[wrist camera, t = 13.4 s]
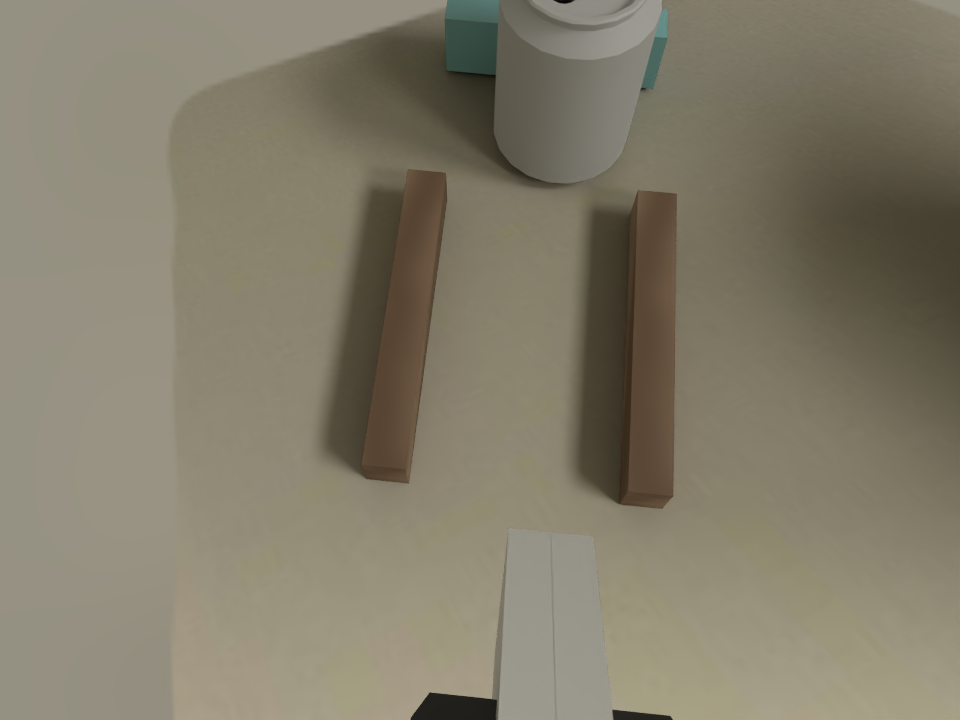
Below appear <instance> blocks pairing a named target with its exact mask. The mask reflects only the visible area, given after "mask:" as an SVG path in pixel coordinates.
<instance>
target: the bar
mask: <svg viewBox="0 0 960 720" xmlns="http://www.w3.org/2000/svg"><path fill="white" fill-rule="evenodd" d="M498 15H499V0H448V1H447V8H446V14H445V39H446V70H447V71H457V72H468V73H480V74H491V75H496V62H497V38H498ZM667 34H668V10H666V9H662V12H661V15H660V19H659V23H658V26H657V30H656V34H655V37H654V41H653V45H652V49H651V52H650V56H649V60H648V63H647V67H646V71H645V74H644V78H643V82H642V86H641V88H651V89H653V86H654V82H655V79H656V76H657V72H658V69H659V65H660V62H661V58H662V55H663V51H664V48H665V45H666V41H667Z"/></svg>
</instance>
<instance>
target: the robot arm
mask: <svg viewBox="0 0 960 720" xmlns="http://www.w3.org/2000/svg"><path fill="white" fill-rule="evenodd" d="M411 720H673V719H672V718H671V717H670V716H666V715H656V714H647V713H637V712H628V711H619V710H612V704H611V695H610V686H609V677H608V668H607V658H606V649H605V640H604V631H603V622H602V613H601V604H600V594H599V585H598V576H597V567H596V558H595V549H594V540H593V537H592V536H582V535H572V534H562V533H552V532H543V531H533V530H523V529H513V528H508V537H507V546H506V555H505V565H504V574H503V583H502V593H501V602H500V611H499V620H498V630H497V639H496V648H495V662H494V677H493V693H492V699H485V698H476V697H467V696H457V695H448V694H439V693H429V694H428V696H427V697H426V698H425V700H424V701H423V702H422V704H421V705H420V706H419V708H418V709H417V710H416V712H415V713H414V714H413V716H412V717H411Z"/></svg>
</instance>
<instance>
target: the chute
mask: <svg viewBox="0 0 960 720" xmlns="http://www.w3.org/2000/svg"><path fill="white" fill-rule="evenodd" d="M446 203H447V185H446V173H442V172H431V171H420V170H409V169H408V172H407V178H406V184H405V191H404V197H403V203H402V210H401V216H400V222H399V229H398V235H397V241H396V248H395V254H394V260H393V267H392V273H391V279H390V286H389V292H388V298H387V305H386V311H385V317H384V323H383V330H382V336H381V342H380V349H379V355H378V361H377V368H376V374H375V380H374V387H373V393H372V399H371V406H370V412H369V418H368V425H367V431H366V437H365V443H364V450H363V456H362V462H361V466H362V468H363V471H364V473H365V476H366V478H367V479H372V480H382V481H392V482H402V483H409V477H410V470H411V462H412V455H413V447H414V440H415V433H416V425H417V418H418V410H419V403H420V396H421V388H422V381H423V373H424V366H425V358H426V351H427V344H428V336H429V329H430V321H431V314H432V307H433V299H434V292H435V284H436V277H437V269H438V262H439V255H440V247H441V240H442V232H443V225H444V217H445V210H446ZM676 209H677V194H673V193H662V192H651V191H640V190H638V192H637V195H636V198H635V201H634V204H633V208H632V211H631V214H630V229H629V257H628V284H627V312H626V339H625V367H624V395H623V422H622V450H621V478H620V504H621V505H631V506H641V507H651V508H661V509H662V508H663V507H664V506H665V505H666V504H667V502H668V501H669V500H670V499H671V498H672V497H673V471H674V384H675V297H676Z"/></svg>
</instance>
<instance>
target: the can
mask: <svg viewBox="0 0 960 720" xmlns="http://www.w3.org/2000/svg"><path fill="white" fill-rule="evenodd" d="M661 12H662V0H499V15H498V38H497V62H496V85H495V109H494V135H495V138H496V141H497V144H498V147H499V150H500V151H501V152H502V154H503V155H504V156H505V157H506V159H507V160H508V161H509V162H510V164H511V165H513V166H514V167H516V168H517V169H519V170H520V171H522V172H523V173H525V174H526V175H528V176H530V177H533V178H536V179H539V180H542V181H545V182H550V183H569V184H570V183H575V182H579V181H584V180H589V179H592V178H593V177H595V176H597V175H599V174H601V173H602V172H604V171H606V170H608V169H609V168H610V167H611V166H612V165H613V163H614V162H615V161H616V160H617V159H618V158H619V157H620V156H621V153H622V151H623V148H624V146H625V143H626V141H627V137H628V134H629V130H630V126H631V123H632V119H633V115H634V111H635V108H636V104H637V100H638V97H639V93H640V89H641V86H642V82H643V78H644V74H645V71H646V67H647V63H648V60H649V56H650V52H651V49H652V45H653V41H654V37H655V34H656V30H657V26H658V23H659V19H660V15H661Z"/></svg>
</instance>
